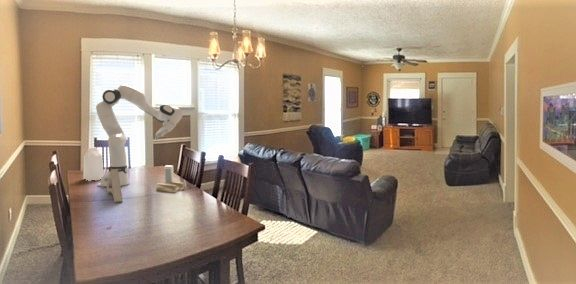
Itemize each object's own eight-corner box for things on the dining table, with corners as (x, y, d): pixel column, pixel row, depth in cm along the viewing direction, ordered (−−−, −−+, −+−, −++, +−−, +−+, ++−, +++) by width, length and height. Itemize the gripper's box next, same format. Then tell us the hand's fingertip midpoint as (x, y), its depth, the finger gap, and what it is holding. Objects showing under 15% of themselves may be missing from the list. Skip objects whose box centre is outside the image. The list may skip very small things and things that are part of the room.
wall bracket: (117, 218, 275) (122, 200, 252) (110, 219, 273) (115, 201, 250) (113, 188, 284) (117, 169, 261) (106, 189, 282) (110, 169, 259)
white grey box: (167, 185, 304) (166, 165, 302) (174, 185, 303) (173, 165, 301) (164, 186, 300) (164, 166, 299) (171, 186, 299) (171, 166, 298)
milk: (98, 177, 336) (97, 146, 333) (104, 179, 328) (102, 147, 325) (83, 179, 327) (81, 147, 324) (88, 181, 319) (87, 148, 316)
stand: (166, 187, 297) (166, 181, 296) (184, 188, 290) (184, 182, 290) (156, 190, 287) (156, 183, 286) (174, 192, 280) (174, 185, 280)
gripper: (159, 125, 316) (149, 138, 308) (171, 118, 301) (160, 131, 293) (165, 130, 318) (155, 143, 310) (177, 124, 303) (167, 137, 295)
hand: (158, 137), depth 301 cm, fingers open, 8 cm apart
